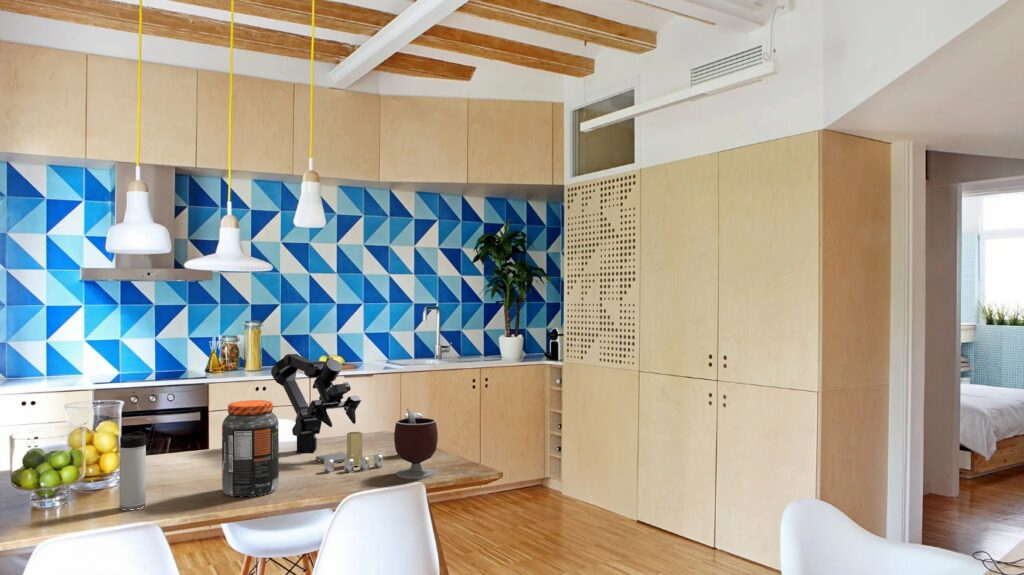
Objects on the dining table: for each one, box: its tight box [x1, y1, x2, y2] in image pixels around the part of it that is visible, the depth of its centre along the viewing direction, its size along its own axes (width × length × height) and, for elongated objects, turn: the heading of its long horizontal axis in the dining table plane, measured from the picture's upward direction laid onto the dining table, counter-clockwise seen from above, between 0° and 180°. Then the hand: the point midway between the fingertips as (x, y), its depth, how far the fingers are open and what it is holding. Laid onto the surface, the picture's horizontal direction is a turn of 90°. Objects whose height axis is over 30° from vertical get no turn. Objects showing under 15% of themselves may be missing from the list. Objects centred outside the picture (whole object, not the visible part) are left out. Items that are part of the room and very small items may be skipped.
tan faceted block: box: [346, 431, 363, 466], centre depth 250 cm, size 4×5×11 cm
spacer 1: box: [323, 459, 335, 473], centre depth 240 cm, size 3×3×4 cm
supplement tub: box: [221, 399, 280, 498], centre depth 217 cm, size 16×16×26 cm
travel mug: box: [118, 431, 147, 510], centre depth 200 cm, size 6×7×20 cm
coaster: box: [315, 451, 347, 464], centre depth 258 cm, size 10×10×1 cm
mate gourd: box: [393, 408, 439, 480], centre depth 238 cm, size 16×14×20 cm
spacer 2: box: [343, 458, 355, 473], centre depth 241 cm, size 3×3×4 cm
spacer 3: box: [359, 456, 370, 471], centre depth 244 cm, size 3×3×4 cm
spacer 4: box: [373, 453, 384, 469], centre depth 247 cm, size 3×3×4 cm
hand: (343, 424), depth 255 cm, fingers open, 9 cm apart
